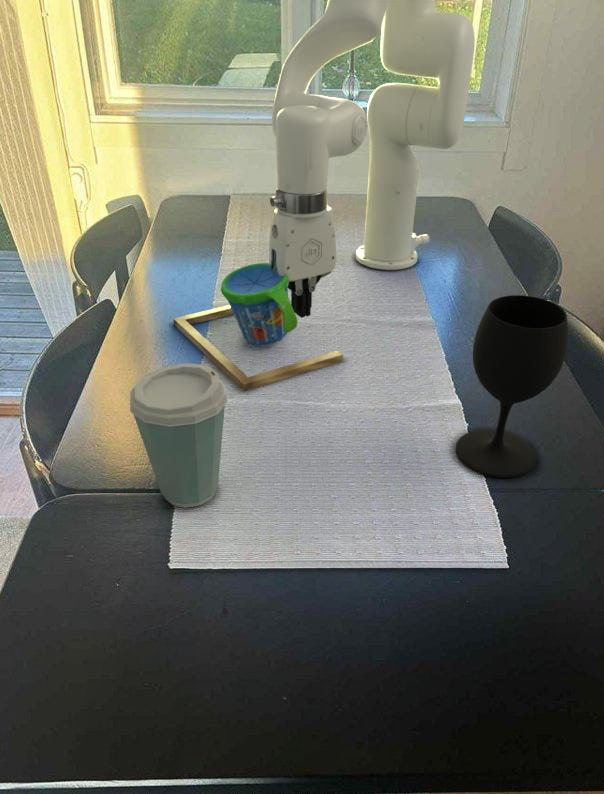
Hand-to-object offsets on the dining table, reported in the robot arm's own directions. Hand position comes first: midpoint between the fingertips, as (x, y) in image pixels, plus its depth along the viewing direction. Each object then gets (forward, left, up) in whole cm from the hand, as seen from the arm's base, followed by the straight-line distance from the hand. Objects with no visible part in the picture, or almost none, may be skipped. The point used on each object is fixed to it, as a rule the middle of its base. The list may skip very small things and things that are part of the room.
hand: (301, 313), depth 116 cm
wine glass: (-3, +43, -3) cm, 43 cm away
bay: (+8, 0, -3) cm, 9 cm away
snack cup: (+7, 0, -2) cm, 7 cm away
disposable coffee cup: (+34, +29, -3) cm, 45 cm away
